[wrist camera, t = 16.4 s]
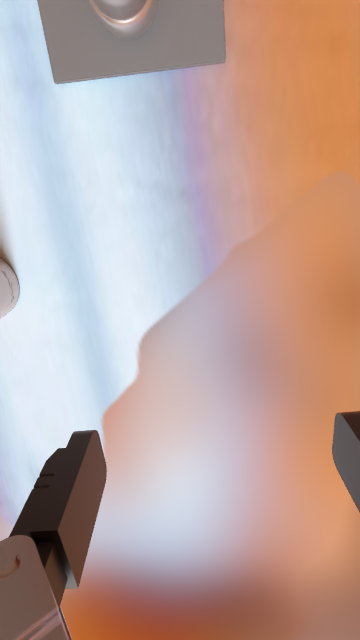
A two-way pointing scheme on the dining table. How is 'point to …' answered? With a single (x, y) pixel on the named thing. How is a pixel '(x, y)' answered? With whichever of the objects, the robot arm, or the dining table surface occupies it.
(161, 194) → the dining table surface
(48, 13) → the grey rubber mat
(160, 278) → the dining table surface
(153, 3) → the plastic bottle
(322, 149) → the dining table surface
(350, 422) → the robot arm
